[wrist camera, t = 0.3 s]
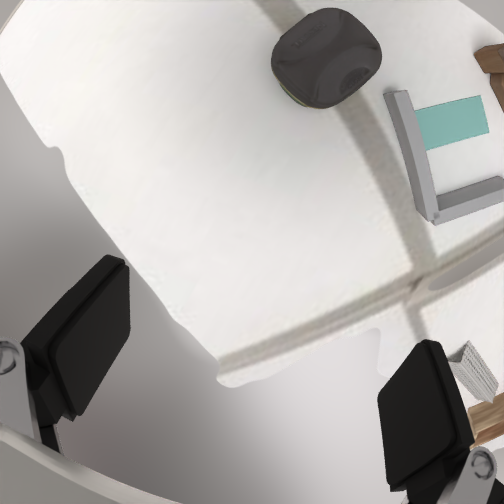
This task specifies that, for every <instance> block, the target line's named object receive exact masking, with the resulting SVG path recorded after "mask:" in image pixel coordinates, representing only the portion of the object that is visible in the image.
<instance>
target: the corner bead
mask: <svg viewBox="0 0 504 504" xmlns="http://www.w3.org/2000/svg"><path fill="white" fill-rule="evenodd" d="M467 345H468V347H467V346H466V349H465V351H464V354H465V356H464V354H463V356H462V360H461V362H460V363H457V362H450V361H448V363H449V365H450V368H451V370H452V373H453V374H454V376H455V377H456V378H457V379H458V380H459V381H460V382H461V383H462V384H463V385H464V386H465V387H466V388H467V390H468V391H469V392H470V393H471V394H472V395H473V396H474V397H475V398H476V399H477V400H482V401H487V402H491V403H493V398H494V396H495V394H496V391H497V388H498V384H499V383H498V382H497V380H496V379H495V377H494V375H493V374H492V372H491V371H490V369H489V368H487V367H488V366H486V363H485V362H484V361H483V360H482V358H481V356H480V355H479V353H478V352H477V350H476V349H475V348H473V347H474V346H473V345H472V343H471V342H470V341H468V343H467ZM471 345H472V346H471ZM469 347H470V349H469ZM470 351H471V352H470ZM472 353H473V354H472ZM468 354H469V355H468ZM474 354H475V355H474ZM470 355H471V356H470ZM466 356H467V357H466ZM475 357H476V358H475ZM477 358H478V359H477ZM473 360H474V361H473ZM469 361H470V363H469ZM478 361H479V362H478ZM465 362H466V363H465ZM471 362H472V364H471ZM480 362H481V363H480ZM476 364H477V365H476ZM481 364H482V366H481ZM472 365H473V367H472ZM474 366H475V368H474ZM479 367H480V368H479ZM482 367H483V368H482ZM485 369H486V370H485ZM475 370H476V371H475ZM477 370H478V372H477ZM486 372H487V373H486ZM478 373H479V374H478ZM487 374H488V375H487ZM479 375H480V376H479ZM484 375H485V376H484ZM488 376H489V377H488ZM482 378H483V379H482ZM483 380H484V381H483ZM489 387H490V388H491V389H490V388H489ZM486 388H487V389H486ZM492 391H493V392H494V393H495V394H494V393H493V392H492Z"/></svg>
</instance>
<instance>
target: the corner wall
mask: <svg viewBox="0 0 504 504" xmlns="http://www.w3.org/2000/svg"><path fill="white" fill-rule="evenodd" d="M383 95H384V98H385V101H386V104H387V106H388V109H389V112H390V115H391V118H392V121H393V124H394V127H395V130H396V133H397V136H398V140H399V143H400V146H401V150H402V153H403V157H404V160H405V164H406V168H407V171H408V175H409V179H410V183H411V188H412V192H413V196H414V201H415V205H416V210H417V211H418V212H419V213H420V214H421V215H422V216H423V217H424V218H425V219H426V220H427V221H428V222H429V221H431V222H432V223H433V224H434V225H435V226H436V225H439V224H442V223H445V222H448V221H451V220H453V219H456V218H459V217H462V216H465V215H468V214H470V213H473V212H476V211H479V210H481V209H484V208H487V207H490V206H492V205H495V204H498V203H500V202H503V201H504V179H503V178H501V177H500V176H496V177H493V178H490V179H488V180H485V181H482V182H479V183H476V184H473V185H470V186H467V187H464V188H461V189H458V190H455V191H452V192H449V193H446V194H443V195H440V196H437V197H436V193H435V188H434V183H433V179H432V174H431V170H430V165H429V161H428V157H427V153H426V149H425V146H424V142H423V138H422V135H421V131H420V128H419V124H418V121H417V118H416V115H415V112H414V109H413V105H412V102H411V100H410V97H409V94H408V91H407V90H403V91H394V92H390V93H386V94H383Z"/></svg>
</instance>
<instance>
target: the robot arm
mask: <svg viewBox="0 0 504 504" xmlns="http://www.w3.org/2000/svg"><path fill="white" fill-rule="evenodd" d="M129 297H130V296H129V267H128V266H127V265H125V261H124V260H123V259H121V258H117V257H114V256H111V255H105V256H104V257H103V258H102V259H101V260H100V261H99V262H98V263H97V264H95V265H94V266H93V267H92V268H91V269H90V270H89V271H88V272H87V273H86V274H85V275H84V276H83V277H82V278H81V279H80V280H79V281H78V282H77V283H76V284H75V285H74V286H73V287H72V288H71V289H70V290H68V291H67V293H65V294H64V295H63V297H62V298H61V299H60V300H59V301H58V302H57V303H56V304H55V305H54V306H53V307H52V308H51V309H50V310H49V311H48V312H47V314H46V315H45V316H44V317H43V318H42V319H41V320H40V321H39V323H37V325H36V326H35V327H34V328H33V329H32V330H31V331H30V333H29V334H28V335H27V336H26V337H25V338H24V339H23V340H22V342H21V343H19V342H18V341H16V340H15V339H13V338H10V337H0V504H181V503H178V502H174V501H171V500H167V499H164V498H161V497H158V496H155V495H152V494H149V493H147V492H144V491H141V490H138V489H136V488H133V487H131V486H128V485H126V484H123V483H121V482H118V481H116V480H113V479H111V478H109V477H107V476H104V475H102V474H100V473H97V472H95V471H93V470H91V469H89V468H87V467H85V466H83V465H81V464H79V463H77V462H75V461H72V460H71V459H69V458H67V457H65V456H64V453H63V449H62V446H61V441H60V438H59V433H58V429H57V425H56V424H57V423H58V421H59V419H60V417H61V416H63V417H65V418H67V419H69V420H71V421H72V422H73V421H74V419H75V417H76V416H77V415H78V416H81V415H82V414H83V413H84V411H85V409H86V408H87V406H88V404H89V402H90V400H91V399H92V397H93V395H94V394H95V392H96V390H97V389H98V387H99V385H100V383H101V382H102V380H103V378H104V376H105V375H106V373H107V372H108V370H109V368H110V367H111V365H112V363H113V362H114V360H115V358H116V357H117V355H118V353H119V352H120V350H121V348H122V347H123V345H124V344H125V342H126V341H127V339H128V337H129V334H130V300H129ZM377 402H378V408H379V414H380V415H379V416H380V423H381V431H382V439H383V447H384V457H385V468H386V479H387V482H388V484H389V485H390V492H396V491H404V490H407V495H406V497H405V498H404V500H403V501H402V503H401V504H504V485H503V484H502V483H501V482H499V481H498V480H497V479H496V478H495V477H496V472H497V463H496V460H495V458H494V456H493V454H492V453H491V452H490V451H489V450H488V449H487V448H485V447H481V446H478V447H475V448H474V449H472V450H471V451H470V448H469V447H470V446H471V445H473V444H474V443H475V439H474V436H473V432H472V429H471V426H470V422H469V419H468V416H467V413H466V410H465V407H464V404H463V401H462V398H461V395H460V392H459V389H458V386H457V384H456V381H455V378H454V376H453V373H452V370H451V368H450V365H449V363H448V360H447V358H446V355H445V353H444V350H443V348H442V345H441V344H440V343H439V342H437V341H432V340H427V339H424V340H422V341H421V342H420V343H417V344H416V345H415V347H414V348H413V350H412V351H411V352H410V354H409V355H408V356H407V358H406V359H405V360H404V362H403V363H402V364H401V366H400V367H399V368H398V370H397V371H396V372H395V373H394V375H393V376H392V377H391V378H390V380H389V381H388V382H387V383H386V385H385V386H384V387H383V388H382V389H381V391H380V392H379V394H378V399H377Z"/></svg>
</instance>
